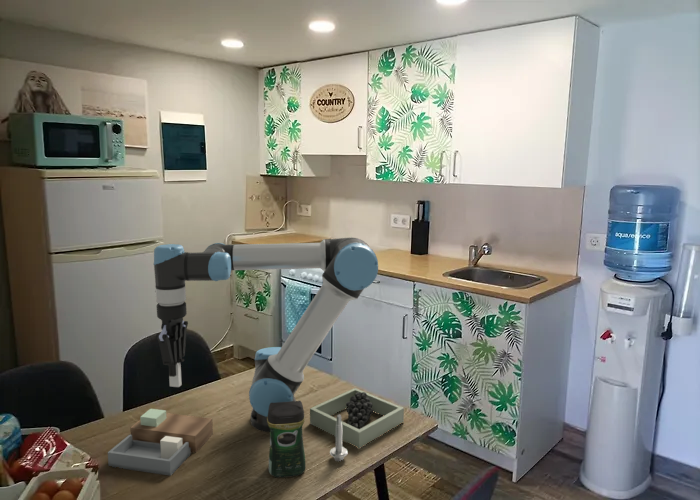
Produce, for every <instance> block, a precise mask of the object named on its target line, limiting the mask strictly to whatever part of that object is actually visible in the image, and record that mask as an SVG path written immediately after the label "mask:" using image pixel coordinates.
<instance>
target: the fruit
mask: <svg viewBox="0 0 700 500" xmlns="http://www.w3.org/2000/svg"><path fill="white" fill-rule="evenodd" d="M365 392H366V391H364V392H362V393H360V392H358V393H356V394H355V396H352V397H351V398H350V402H347V403H346V406H347V407H348V408H346V412H347V418H348V419H347V424H349V425H351V426H353V427H355V428H357V429H361V428H363V427H365V426H366V425H365V424H366V423H368V420H370V418H371V416H372V414H374V412H373V409H372V406H373V405H372V403H371V402H370V399H369V398H368V397H366V396H367V394H366V393H367V392H366V393H365ZM358 400H359V401H360V400H361V401H360V402H358Z"/></svg>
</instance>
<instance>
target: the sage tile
mask: <svg viewBox="0 0 700 500" xmlns="http://www.w3.org/2000/svg"><path fill="white" fill-rule="evenodd" d="M166 413H167V410H164V409H157V408H149V409H148V410H147V411H145V413H143V414H142V415H140V417H139V418H140V419H141V425H146V426H153V427H157V426H158V425H159V424H161V423H162V422H163V421H164V420H165V419H166ZM140 419H139V420H140Z"/></svg>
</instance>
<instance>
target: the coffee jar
mask: <svg viewBox="0 0 700 500" xmlns="http://www.w3.org/2000/svg"><path fill="white" fill-rule="evenodd" d="M305 419H306V416H305V410H304V406H303V402H302V401H301V400H296V401H290V402H277V403H270V405H269V410H268V416H267V423H268V426H269V428H270V432H269V451H268V473H269V474H270V475H271V476H272V477H274V478H290V477H297V476H301V475H302V474H303V473H304V472H305V471H306V467H307V466H306V454H305V453H306V452H305V445H304V437H303V425H304V423H305Z"/></svg>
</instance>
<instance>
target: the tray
mask: <svg viewBox="0 0 700 500" xmlns="http://www.w3.org/2000/svg"><path fill="white" fill-rule="evenodd" d="M191 454H192V452H191V448H190V447H189V442H185V443H184V444H183V445H182V447H181V448H180V449H179V450H178V451H177V452H176V453H175V454H174V455H173V456H172V457H171V458H170V459H166V458H161V445H160V443H153V442H145V441H138V440H132V435H131V434H128V435H127V436H126V437H125V438H123V439H122V440H121V441H120V442H119V443H117V444H115V446H114V447H112V448H111V449H110V450H109V451H108V452H107V462H108V467H109V466H112V467H111V468H116V467H119V468H118V469H122V468H123V469H124V470H131V471H137V472H144V473H151V474H156V475H164V476H170V477H171V476H172V475H173V474H174V473H175V472H176V471H177V469H179V468H180V466H181V465H183V464H184V463H185V461H186V460H187V459H188V458H189V457H190V456H191ZM123 469H122V470H123Z"/></svg>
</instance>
